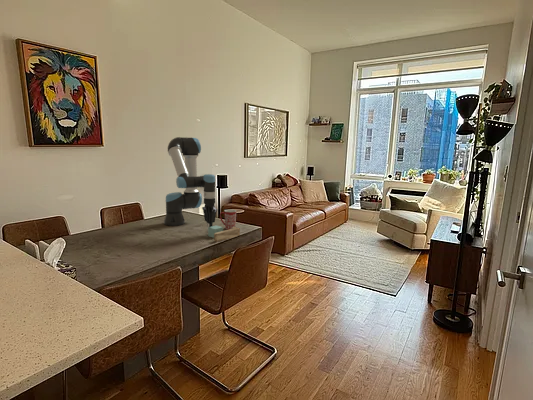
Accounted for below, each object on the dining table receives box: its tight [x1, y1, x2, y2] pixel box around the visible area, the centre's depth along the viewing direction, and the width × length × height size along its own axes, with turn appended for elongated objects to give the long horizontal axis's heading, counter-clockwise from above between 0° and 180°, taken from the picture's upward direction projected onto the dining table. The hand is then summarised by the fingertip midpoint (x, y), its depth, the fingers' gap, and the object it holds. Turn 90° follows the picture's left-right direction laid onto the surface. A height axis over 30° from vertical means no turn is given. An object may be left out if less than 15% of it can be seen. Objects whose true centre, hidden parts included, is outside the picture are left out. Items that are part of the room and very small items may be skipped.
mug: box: [219, 209, 238, 230], centre depth 230 cm, size 13×9×14 cm
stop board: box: [213, 226, 241, 243], centre depth 207 cm, size 5×20×5 cm, turn 141°
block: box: [207, 225, 224, 239], centre depth 211 cm, size 7×7×6 cm
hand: (209, 232), depth 215 cm, fingers closed
